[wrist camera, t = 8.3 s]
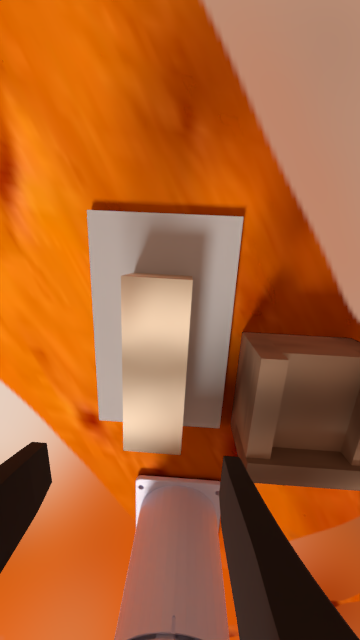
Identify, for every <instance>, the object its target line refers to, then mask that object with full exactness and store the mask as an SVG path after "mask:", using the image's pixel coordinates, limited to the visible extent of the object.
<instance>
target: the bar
mask: <svg viewBox="0 0 360 640" xmlns="http://www.w3.org/2000/svg"><path fill="white" fill-rule="evenodd" d="M192 286H193V277H192V276H183V275H166V274H149V273H130V274H126V275H122V276H121V325H122V389H123V451H136V452H148V453H161V454H174V455H181V444H182V429H183V415H184V401H185V386H186V372H187V358H188V343H189V329H190V315H191V300H192Z"/></svg>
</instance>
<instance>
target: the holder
mask: <svg viewBox="0 0 360 640" xmlns="http://www.w3.org/2000/svg"><path fill="white" fill-rule="evenodd" d="M231 429H232V433H233V437H234V441H235V445H236V449H237V453H238V457H239V458H240V459H241V460H242V462H243V464H244V466H245V468H246V470H247V472H248V474H249V476H250V477H251V479H252V481H253V483H264V484H277V485H291V486H304V487H317V488H330V489H344V490H357V491H360V342H358V341H356V340H354V339H352V338H338V337H320V336H303V335H285V334H268V333H250V332H242V339H241V347H240V354H239V362H238V370H237V378H236V386H235V394H234V401H233V409H232V417H231Z"/></svg>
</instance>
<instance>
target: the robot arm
mask: <svg viewBox="0 0 360 640" xmlns="http://www.w3.org/2000/svg"><path fill="white" fill-rule="evenodd" d="M51 483H52V479H51V472H50V464H49V457H48V450H47V444H46V443H38V442H31V443H30V444H29V445H27V446H26V447H24V448H23V449H21V450H20V451H19V452H17V453H16V454H15V455H13V456H12V457H10V458H9V459H8V460H6V461H5V462H4V463H2V464H1V465H0V573H1V571H2V570H3V568H4V566H5V565H6V563H7V562H8V560H9V558H10V557H11V555H12V553H13V552H14V550H15V549H16V547H17V545H18V543H19V542H20V540H21V539H22V537H23V535H24V534H25V532H26V530H27V529H28V527H29V525H30V524H31V522H32V520H33V519H34V517H35V515H36V513H37V512H38V510H39V508H40V506H41V504H42V502H43V500H44V497H45V496H46V493H47V491H48V489H49V487H50V485H51ZM220 515H221V526H222V533H223V539H224V545H225V551H226V558H227V563H228V569H229V575H230V581H231V587H232V593H233V599H234V605H235V611H236V617H237V624H238V631H239V638H240V640H360V639H359V638H358V637H357V636H356V634H355V633H354V632H353V631H352V629H351V628H350V627H349V625H348V624H347V623H346V622H345V620H344V619H343V617H342V616H341V615H340V613H339V612H338V611H337V609H336V608H335V607H334V605H333V604H332V603H331V601H330V600H329V599H328V597H327V596H326V595H325V593H324V592H323V590H322V589H321V588H320V586H319V585H318V584H317V582H316V581H315V579H314V578H313V577H312V575H311V574H310V572H309V571H308V570H307V568H306V567H305V565H304V564H303V562H302V561H301V559H300V558H299V557H298V555H297V553H296V552H295V551H294V549H293V547H292V546H291V544H290V543H289V541H288V540H287V538H286V537H285V535H284V533H283V532H282V530H281V529H280V527H279V526H278V524H277V522H276V521H275V519H274V517H273V516H272V514H271V512H270V511H269V509H268V507H267V506H266V504H265V502H264V501H263V499H262V497H261V496H260V494H259V492H258V490H257V488H256V487H255V485H254V483H253V481H252V479H251V477H250V476H249V474H248V472H247V470H246V468H245V466H244V464H243V462H242V460H241V459H240V458H239V457H231V456H224V457H223V466H222V474H221V482H220V481H212V480H199V479H186V478H172V477H159V476H146V475H140V476H138V477H137V479H136V532H135V538H134V543H133V548H132V553H131V558H130V563H129V568H128V573H127V578H126V583H125V589H124V593H123V599H122V604H121V609H120V614H119V619H118V624H117V629H116V634H115V639H114V640H229V632H228V623H227V614H226V603H225V594H224V585H223V575H222V565H221V555H220V546H219V536H218V531H219V523H220Z"/></svg>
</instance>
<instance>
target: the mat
mask: <svg viewBox="0 0 360 640" xmlns="http://www.w3.org/2000/svg"><path fill="white" fill-rule="evenodd" d="M243 218H244V217H241V216H218V215H194V214H171V213H148V212H125V211H101V210H87V221H88V238H89V255H90V272H91V289H92V305H93V322H94V339H95V356H96V373H97V390H98V407H99V420H105V421H120V422H123V389H122V325H121V276H122V275H126V274H130V273H149V274H166V275H183V276H192V277H193V286H192V300H191V315H190V329H189V343H188V358H187V372H186V386H185V401H184V415H183V426H192V427H207V428H220V421H221V412H222V403H223V395H224V386H225V377H226V368H227V359H228V350H229V341H230V333H231V324H232V315H233V306H234V297H235V288H236V279H237V271H238V262H239V253H240V244H241V235H242V226H243Z"/></svg>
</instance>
